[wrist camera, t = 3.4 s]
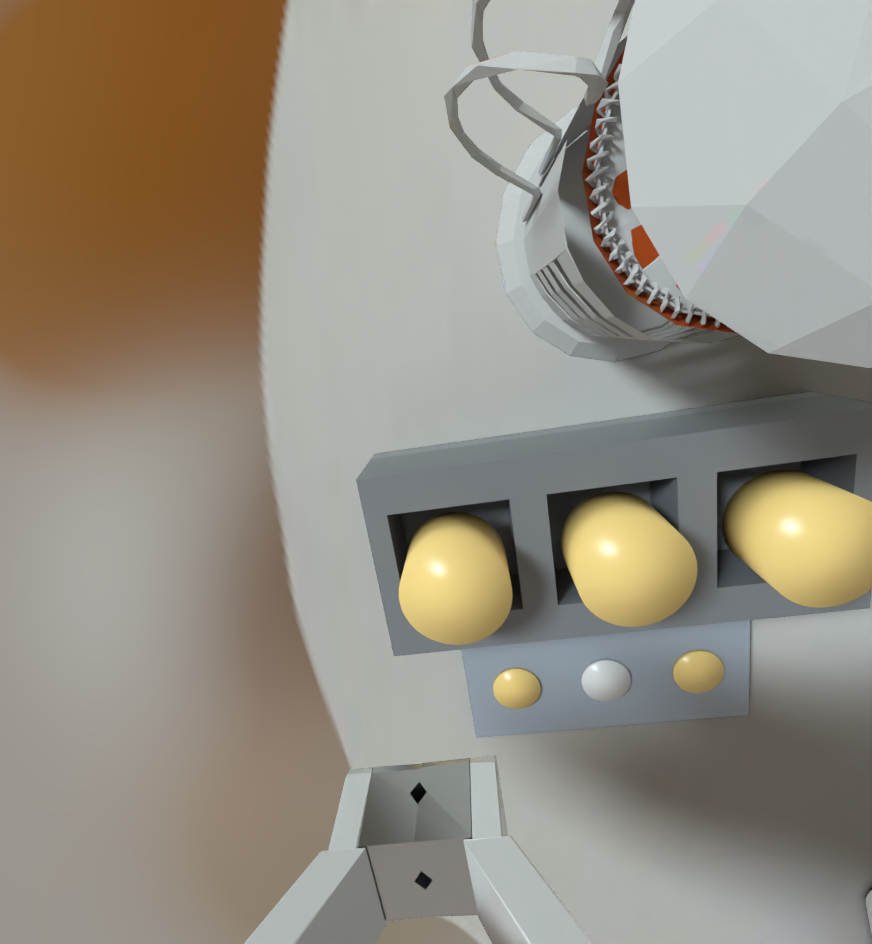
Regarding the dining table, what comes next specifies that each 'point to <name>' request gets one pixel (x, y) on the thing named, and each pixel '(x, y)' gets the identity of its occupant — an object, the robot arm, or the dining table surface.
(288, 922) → the robot arm
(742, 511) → the right button
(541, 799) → the dining table surface
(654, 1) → the french press
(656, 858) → the dining table surface
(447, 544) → the left button
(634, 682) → the button board
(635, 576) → the middle button
